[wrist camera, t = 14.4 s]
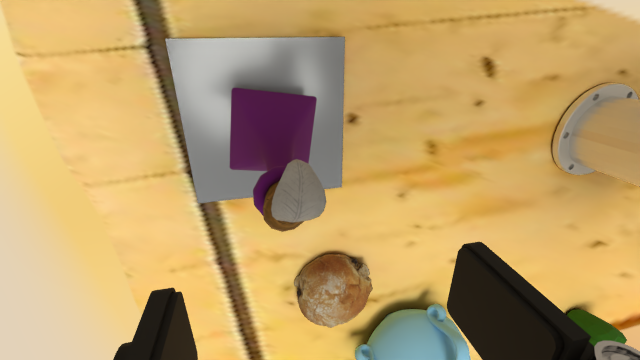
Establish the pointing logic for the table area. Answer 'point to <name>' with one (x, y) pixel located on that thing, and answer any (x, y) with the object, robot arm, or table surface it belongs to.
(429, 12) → the table surface
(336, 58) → the slate tile
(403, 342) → the decorative pot
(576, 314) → the bell pepper
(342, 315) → the bread roll
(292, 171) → the perfume bottle
